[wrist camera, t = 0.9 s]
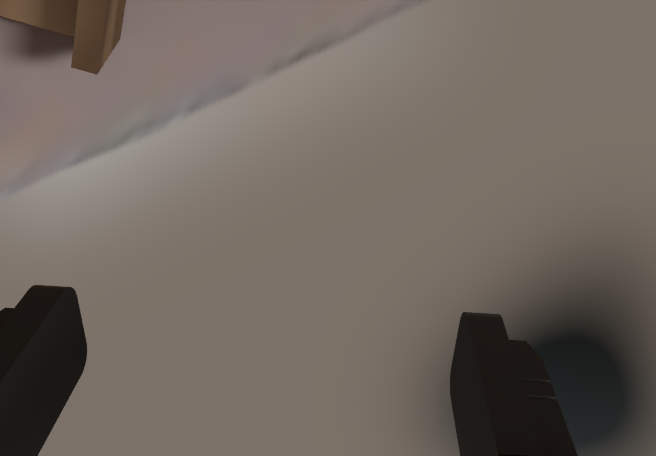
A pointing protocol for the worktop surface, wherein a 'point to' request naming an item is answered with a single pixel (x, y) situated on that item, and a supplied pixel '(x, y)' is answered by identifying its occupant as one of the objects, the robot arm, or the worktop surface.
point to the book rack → (74, 25)
